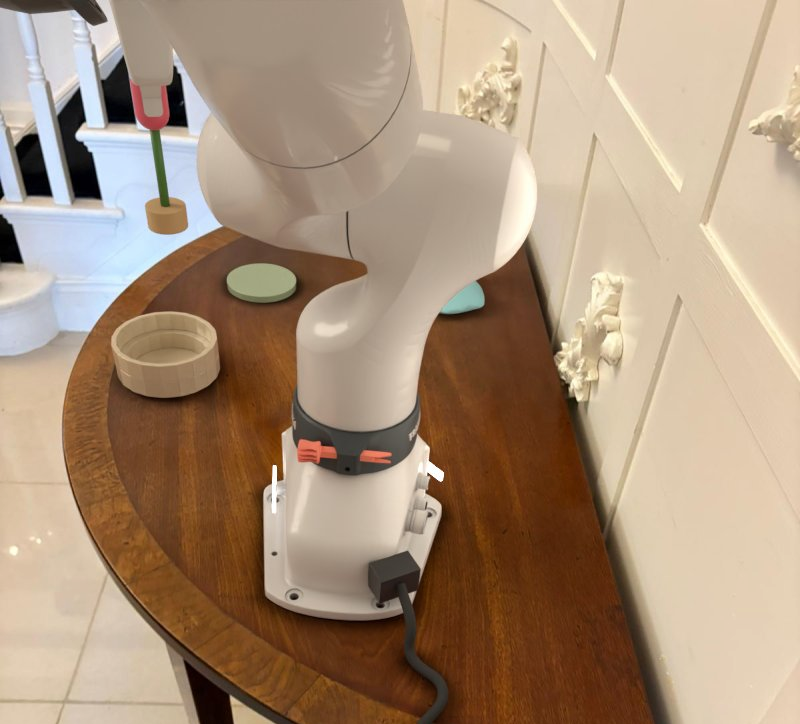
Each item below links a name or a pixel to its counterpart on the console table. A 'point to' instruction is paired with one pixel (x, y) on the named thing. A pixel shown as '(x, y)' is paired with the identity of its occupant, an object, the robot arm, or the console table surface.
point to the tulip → (160, 172)
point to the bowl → (166, 354)
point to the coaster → (261, 283)
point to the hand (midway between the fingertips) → (151, 106)
